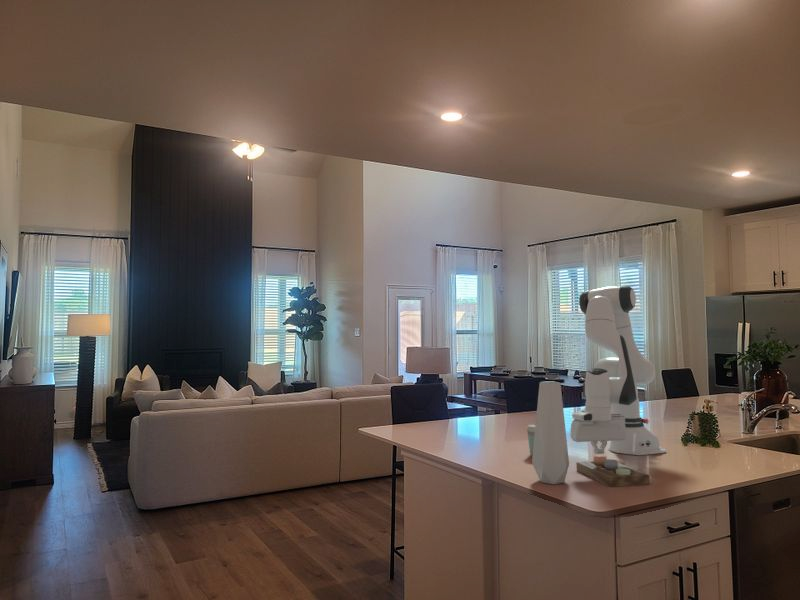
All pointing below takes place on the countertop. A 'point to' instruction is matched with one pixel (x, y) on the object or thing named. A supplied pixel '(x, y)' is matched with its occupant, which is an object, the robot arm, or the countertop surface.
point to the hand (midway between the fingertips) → (599, 453)
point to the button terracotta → (599, 459)
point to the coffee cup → (531, 437)
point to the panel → (613, 474)
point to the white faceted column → (550, 435)
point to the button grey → (610, 464)
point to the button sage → (622, 471)
